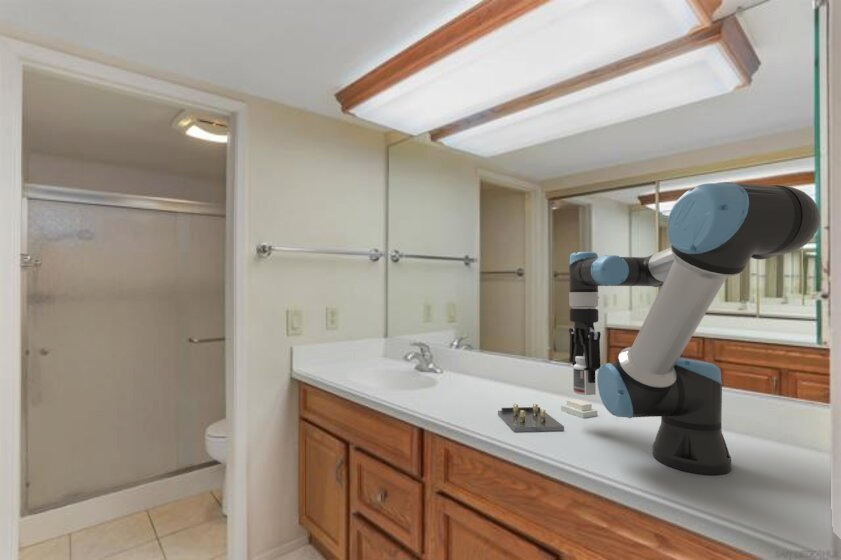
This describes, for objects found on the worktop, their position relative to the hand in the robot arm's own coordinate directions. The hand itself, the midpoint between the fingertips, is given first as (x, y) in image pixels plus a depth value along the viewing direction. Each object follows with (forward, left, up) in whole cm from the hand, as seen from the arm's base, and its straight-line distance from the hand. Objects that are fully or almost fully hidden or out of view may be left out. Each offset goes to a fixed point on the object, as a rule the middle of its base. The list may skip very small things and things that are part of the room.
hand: (584, 391), depth 119 cm
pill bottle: (0, 0, -1) cm, 1 cm away
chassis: (+8, +13, -10) cm, 18 cm away
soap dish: (+16, -6, -10) cm, 20 cm away
